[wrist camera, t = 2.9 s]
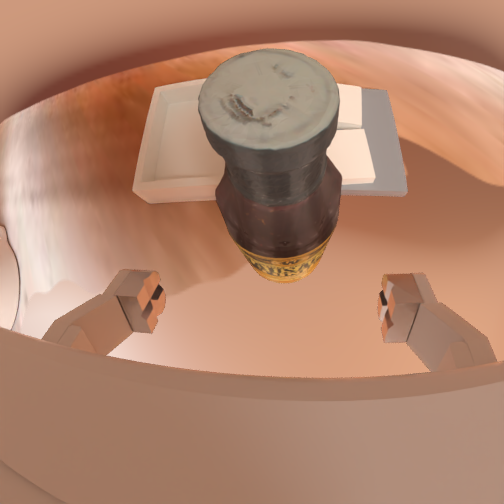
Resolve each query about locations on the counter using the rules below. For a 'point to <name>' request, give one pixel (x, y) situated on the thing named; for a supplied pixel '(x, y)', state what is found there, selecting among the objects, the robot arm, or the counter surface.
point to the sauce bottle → (275, 157)
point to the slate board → (380, 148)
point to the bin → (176, 149)
